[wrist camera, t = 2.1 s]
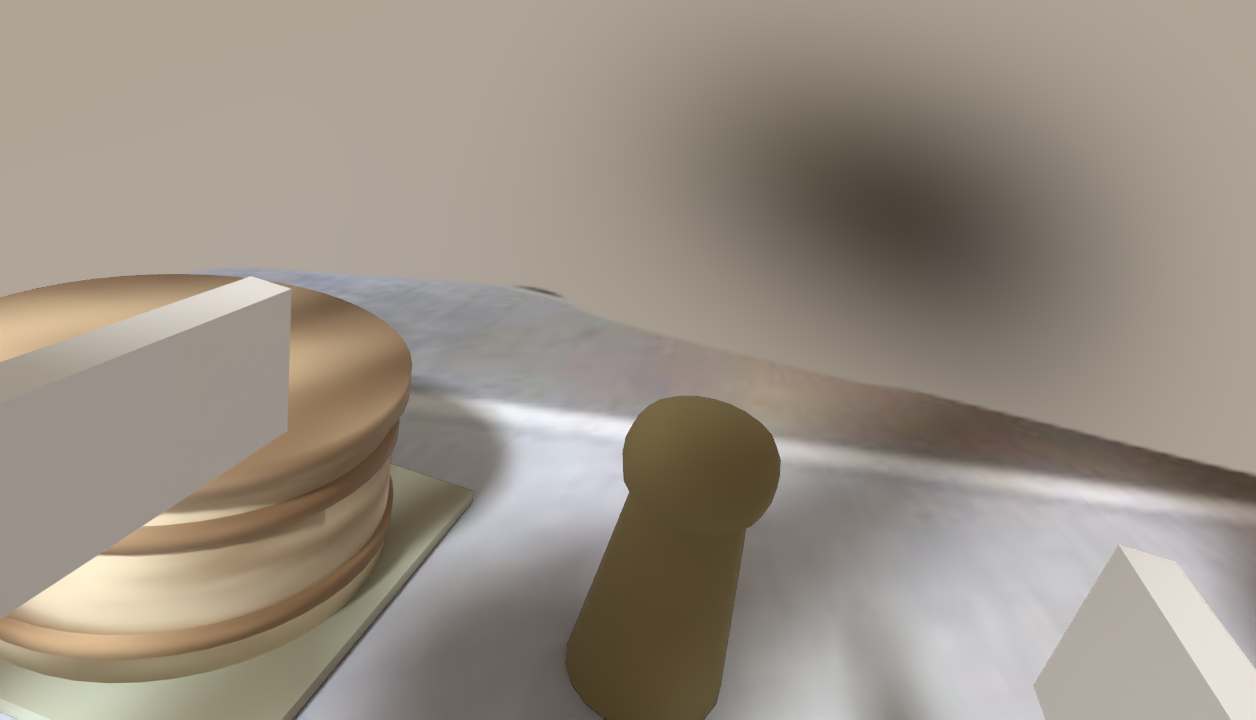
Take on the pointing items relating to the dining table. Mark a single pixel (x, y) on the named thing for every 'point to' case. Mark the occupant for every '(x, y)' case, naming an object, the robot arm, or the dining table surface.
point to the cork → (673, 561)
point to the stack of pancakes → (234, 534)
